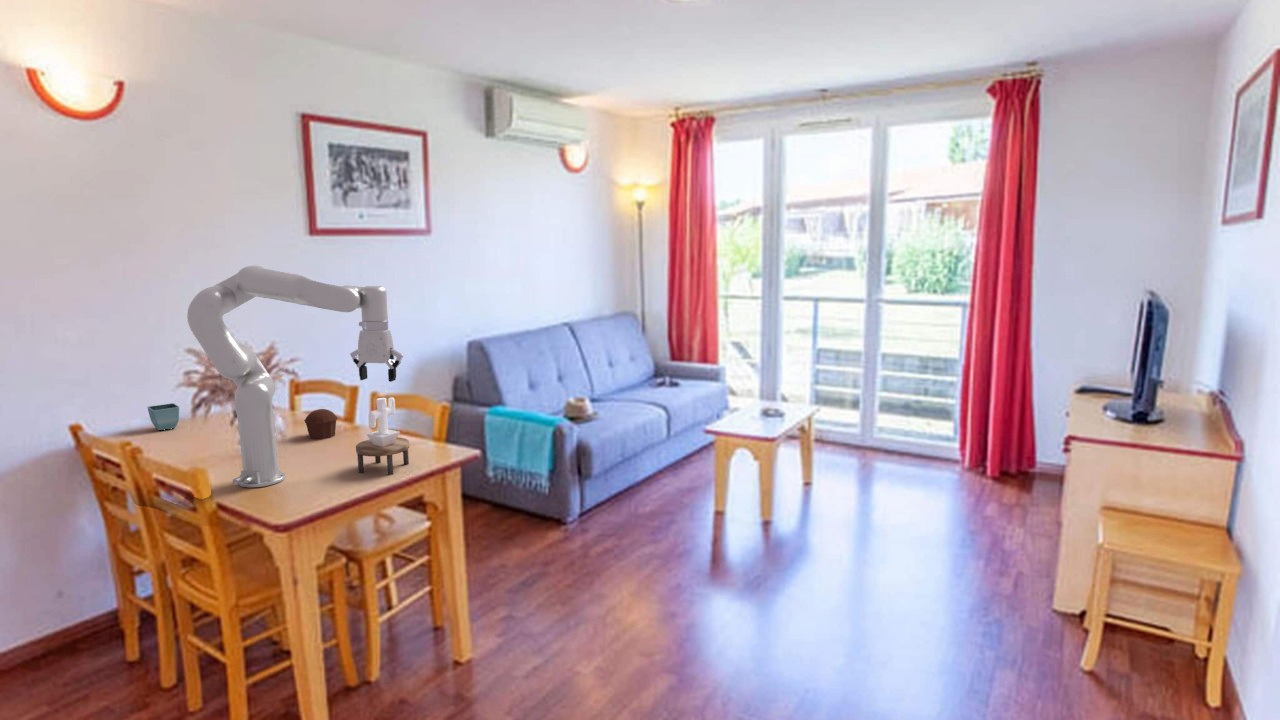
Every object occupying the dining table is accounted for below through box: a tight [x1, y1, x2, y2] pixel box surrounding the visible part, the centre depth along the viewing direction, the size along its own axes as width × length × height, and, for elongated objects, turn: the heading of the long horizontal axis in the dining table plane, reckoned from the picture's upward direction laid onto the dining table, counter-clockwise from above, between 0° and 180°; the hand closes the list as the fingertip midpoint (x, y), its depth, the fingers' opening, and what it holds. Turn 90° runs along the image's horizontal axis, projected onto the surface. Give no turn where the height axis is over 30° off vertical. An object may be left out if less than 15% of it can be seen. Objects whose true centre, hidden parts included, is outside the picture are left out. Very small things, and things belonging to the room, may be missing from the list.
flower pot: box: [147, 402, 180, 431], centre depth 270 cm, size 9×9×9 cm
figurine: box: [366, 397, 401, 446], centre depth 223 cm, size 7×9×15 cm
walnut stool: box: [355, 437, 410, 476], centre depth 225 cm, size 16×16×8 cm
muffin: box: [303, 408, 338, 441], centre depth 261 cm, size 12×11×10 cm
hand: (377, 380), depth 220 cm, fingers open, 9 cm apart
